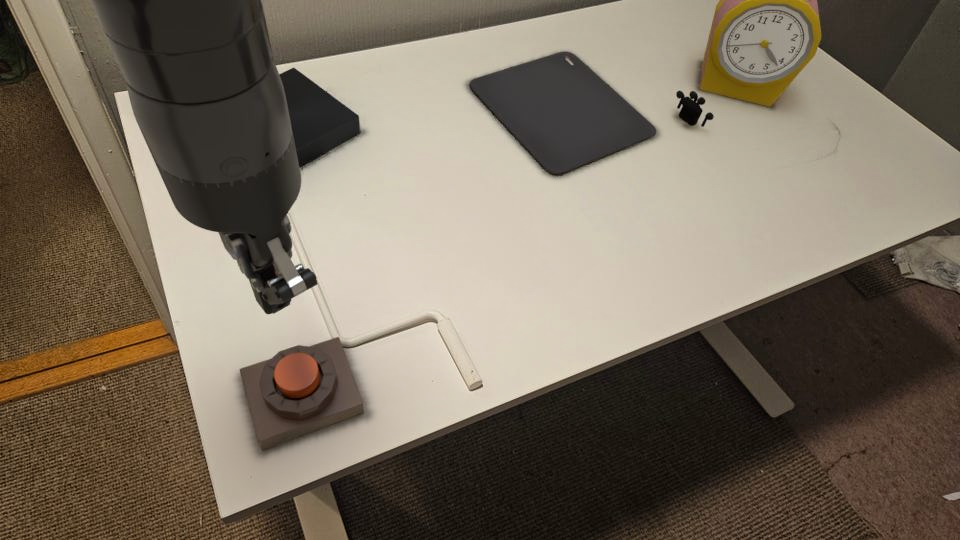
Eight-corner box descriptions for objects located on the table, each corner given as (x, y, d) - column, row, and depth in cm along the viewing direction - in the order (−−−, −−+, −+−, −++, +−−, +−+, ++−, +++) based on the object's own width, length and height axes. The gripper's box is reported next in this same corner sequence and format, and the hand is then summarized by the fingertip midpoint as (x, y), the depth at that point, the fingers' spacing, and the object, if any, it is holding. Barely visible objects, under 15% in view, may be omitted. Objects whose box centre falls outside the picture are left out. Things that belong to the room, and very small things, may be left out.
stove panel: (246, 212, 74) (240, 194, 72) (173, 145, 80) (165, 126, 77) (369, 139, 84) (368, 121, 82) (296, 84, 90) (293, 66, 87)
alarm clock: (689, 89, 98) (738, -22, 84) (692, 61, 103) (739, -49, 89) (781, 112, 97) (848, 4, 82) (779, 82, 102) (842, -25, 87)
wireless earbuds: (707, 132, 92) (720, 106, 88) (696, 138, 91) (710, 111, 87) (672, 107, 95) (684, 80, 91) (662, 112, 94) (673, 85, 90)
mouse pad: (660, 134, 91) (661, 132, 91) (552, 178, 83) (553, 176, 83) (568, 50, 101) (569, 49, 101) (465, 82, 93) (465, 81, 93)
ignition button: (282, 405, 57) (279, 397, 55) (272, 369, 59) (269, 360, 57) (325, 390, 58) (323, 382, 56) (313, 355, 60) (311, 346, 58)
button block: (262, 450, 57) (253, 434, 54) (243, 378, 62) (235, 360, 58) (364, 412, 61) (362, 395, 57) (340, 346, 65) (337, 327, 62)
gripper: (345, 173, 33) (363, 336, 47) (228, 49, 38) (275, 228, 52) (211, 236, 29) (273, 391, 43) (104, 90, 35) (190, 270, 49)
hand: (274, 302), depth 48 cm, fingers closed
